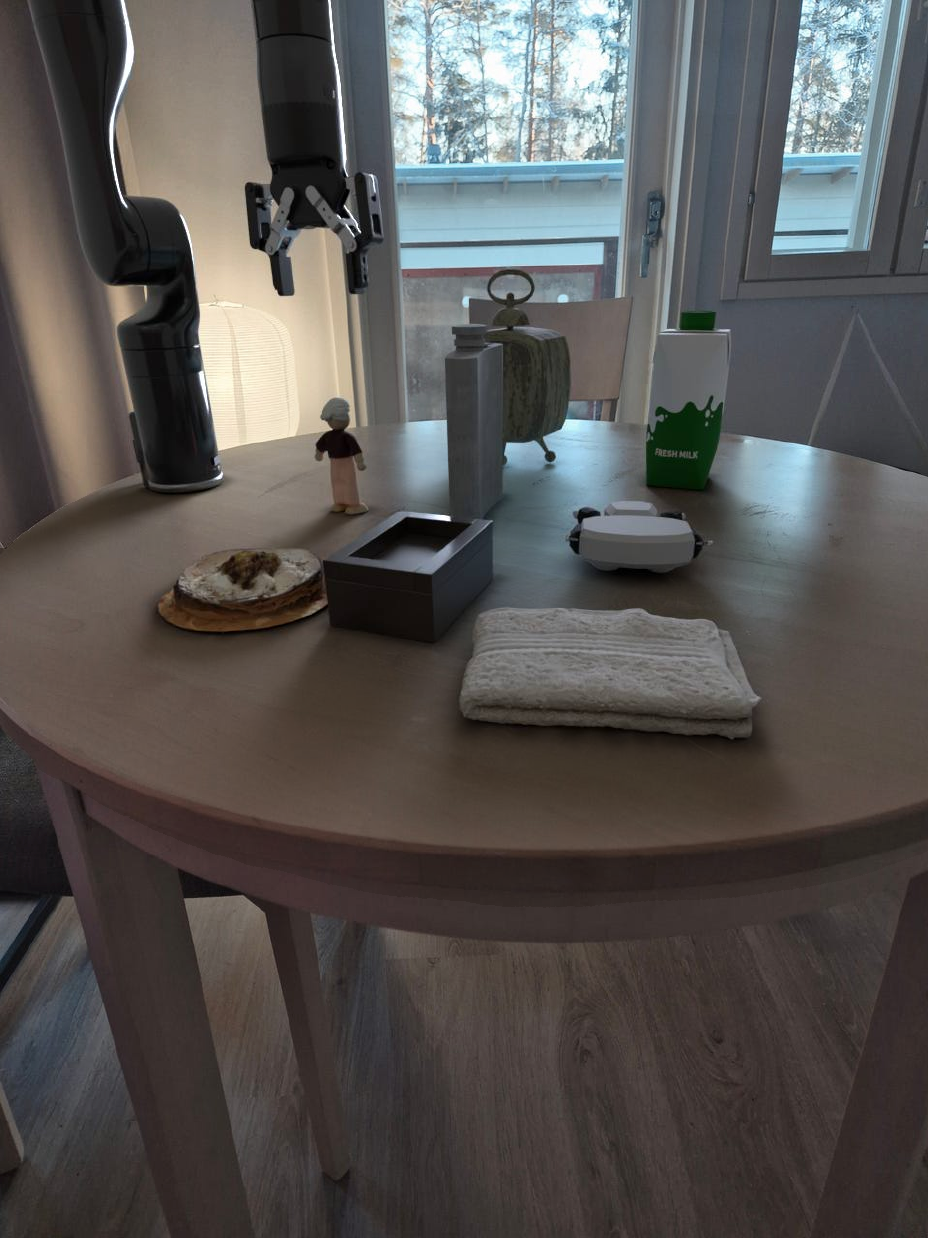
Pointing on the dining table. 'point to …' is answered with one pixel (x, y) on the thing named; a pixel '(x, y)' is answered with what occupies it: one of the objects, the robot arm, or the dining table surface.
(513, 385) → the tabletop clock
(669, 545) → the robot toy
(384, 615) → the box with recessed lid
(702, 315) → the milk carton
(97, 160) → the robot arm
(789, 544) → the dining table surface
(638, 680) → the washcloth
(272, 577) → the cream topped tart
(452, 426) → the hip flask
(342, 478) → the grandmother figurine
